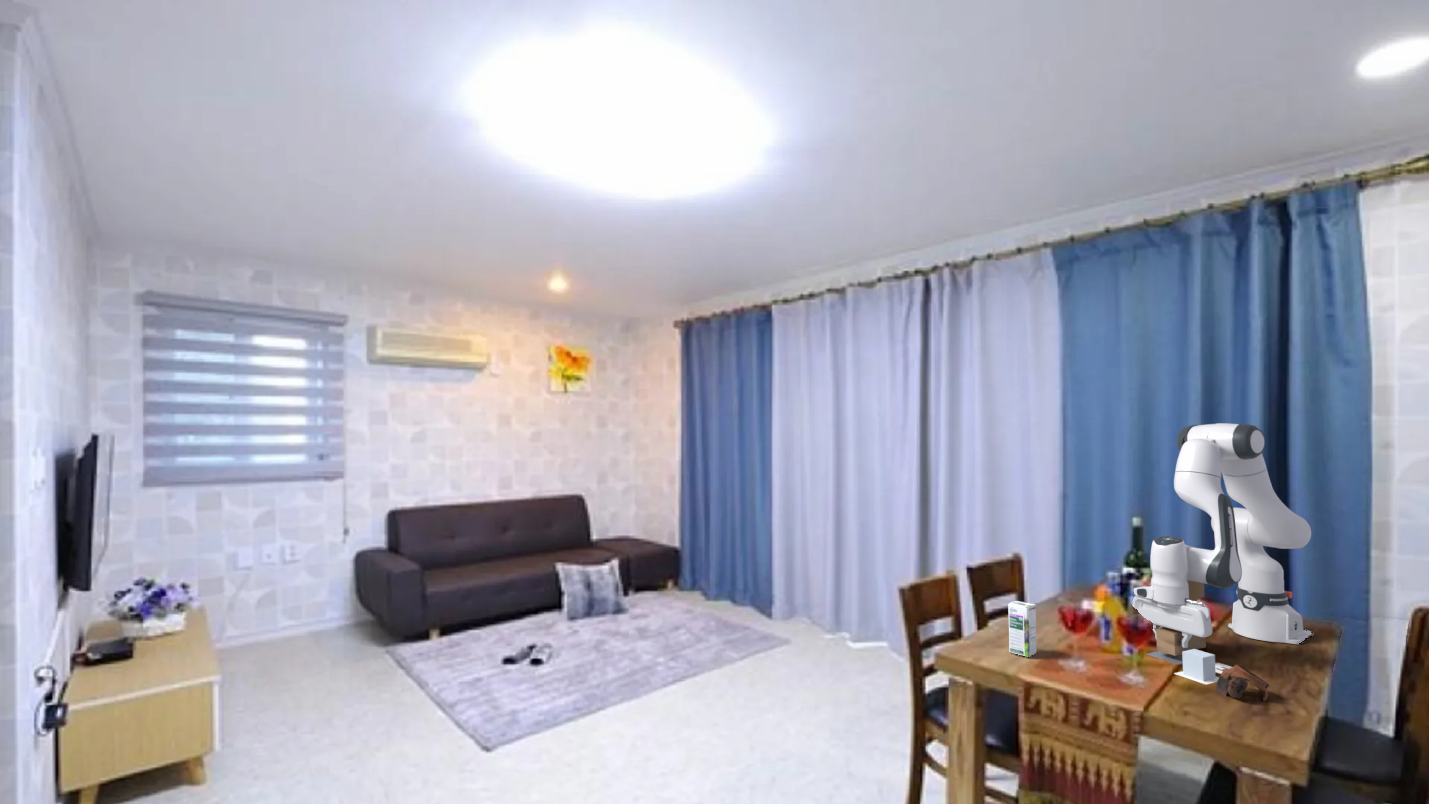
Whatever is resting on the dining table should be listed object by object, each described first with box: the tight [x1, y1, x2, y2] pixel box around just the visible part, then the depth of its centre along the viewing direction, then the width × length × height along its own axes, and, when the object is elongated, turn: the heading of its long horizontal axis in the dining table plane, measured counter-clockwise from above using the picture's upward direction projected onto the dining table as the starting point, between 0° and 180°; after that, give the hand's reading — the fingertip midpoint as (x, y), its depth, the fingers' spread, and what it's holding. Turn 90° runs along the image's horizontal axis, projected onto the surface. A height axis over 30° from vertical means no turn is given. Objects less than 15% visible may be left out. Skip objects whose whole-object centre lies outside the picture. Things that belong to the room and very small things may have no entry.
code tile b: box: [1173, 670, 1219, 686], centre depth 171 cm, size 8×8×1 cm
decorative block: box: [1161, 580, 1207, 651], centre depth 194 cm, size 11×6×20 cm, turn 107°
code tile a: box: [1215, 662, 1234, 675], centre depth 175 cm, size 8×8×1 cm
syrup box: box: [1007, 600, 1038, 658], centre depth 190 cm, size 6×6×14 cm
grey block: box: [1182, 649, 1217, 681], centre depth 171 cm, size 5×5×6 cm
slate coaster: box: [1146, 650, 1183, 666], centre depth 185 cm, size 9×9×1 cm
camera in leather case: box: [1215, 664, 1270, 702], centre depth 159 cm, size 12×10×8 cm
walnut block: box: [1156, 627, 1186, 656], centre depth 185 cm, size 5×5×6 cm
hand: (1171, 643), depth 185 cm, fingers closed on walnut block, 5 cm apart
